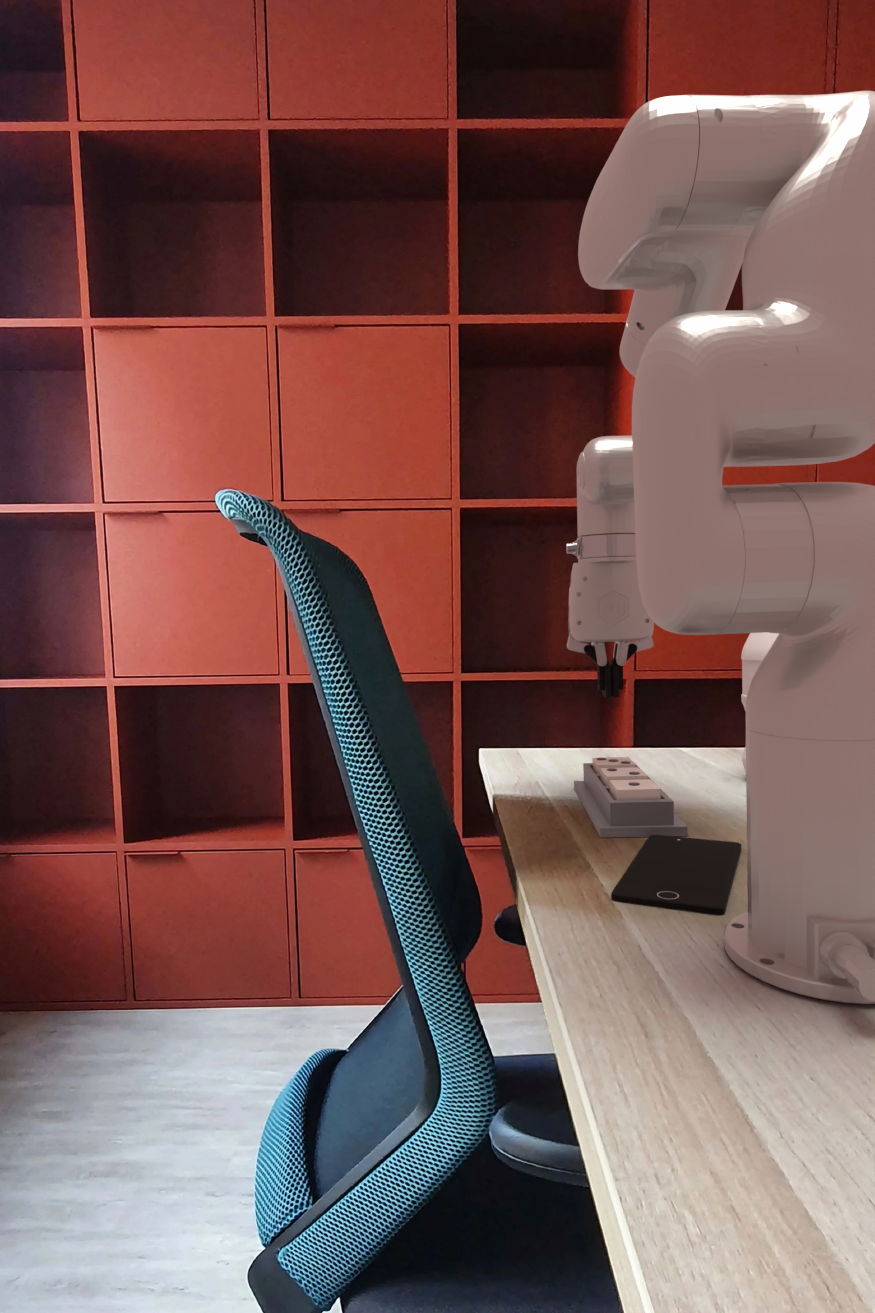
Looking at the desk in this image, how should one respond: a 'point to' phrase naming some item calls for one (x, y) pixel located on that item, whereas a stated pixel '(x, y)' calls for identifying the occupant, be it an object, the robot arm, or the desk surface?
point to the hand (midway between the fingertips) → (610, 695)
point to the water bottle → (753, 663)
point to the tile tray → (626, 811)
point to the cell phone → (680, 874)
